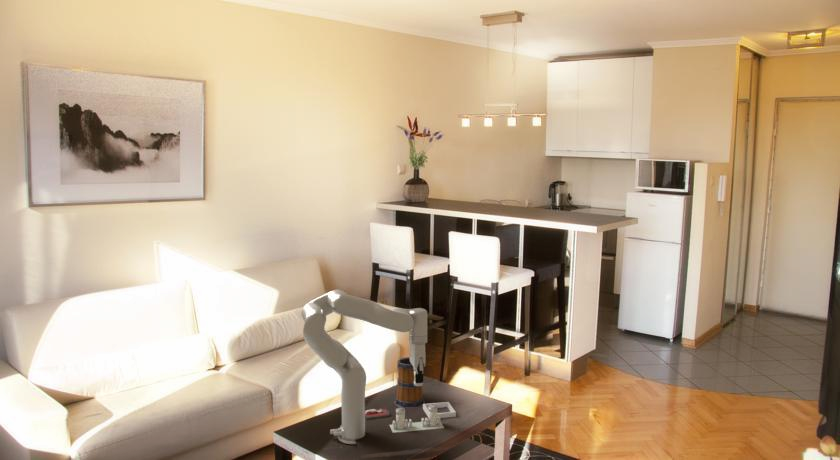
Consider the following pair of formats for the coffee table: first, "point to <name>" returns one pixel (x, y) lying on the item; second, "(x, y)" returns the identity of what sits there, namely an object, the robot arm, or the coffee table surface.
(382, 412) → the red flat piece
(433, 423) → the far fuse
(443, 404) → the tray
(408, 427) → the board
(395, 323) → the robot arm
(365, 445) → the coffee table surface
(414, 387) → the mug
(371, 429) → the coffee table surface
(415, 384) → the marked fuse
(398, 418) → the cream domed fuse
